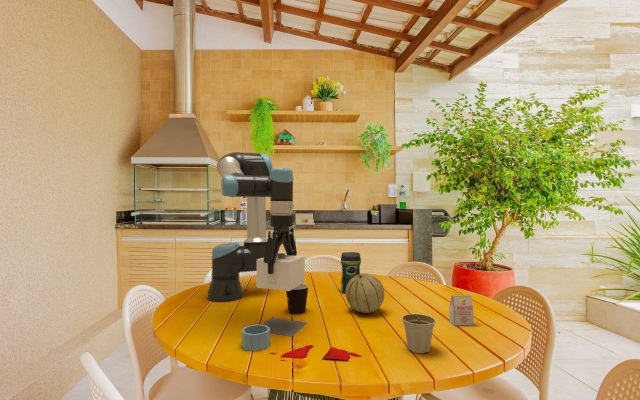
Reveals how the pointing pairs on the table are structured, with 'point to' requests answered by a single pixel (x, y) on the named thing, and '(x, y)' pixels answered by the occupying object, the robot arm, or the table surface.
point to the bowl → (255, 337)
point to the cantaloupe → (365, 293)
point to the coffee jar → (349, 267)
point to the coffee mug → (297, 299)
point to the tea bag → (461, 310)
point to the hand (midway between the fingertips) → (281, 279)
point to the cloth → (331, 354)
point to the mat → (284, 326)
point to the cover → (282, 272)
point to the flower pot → (418, 332)
